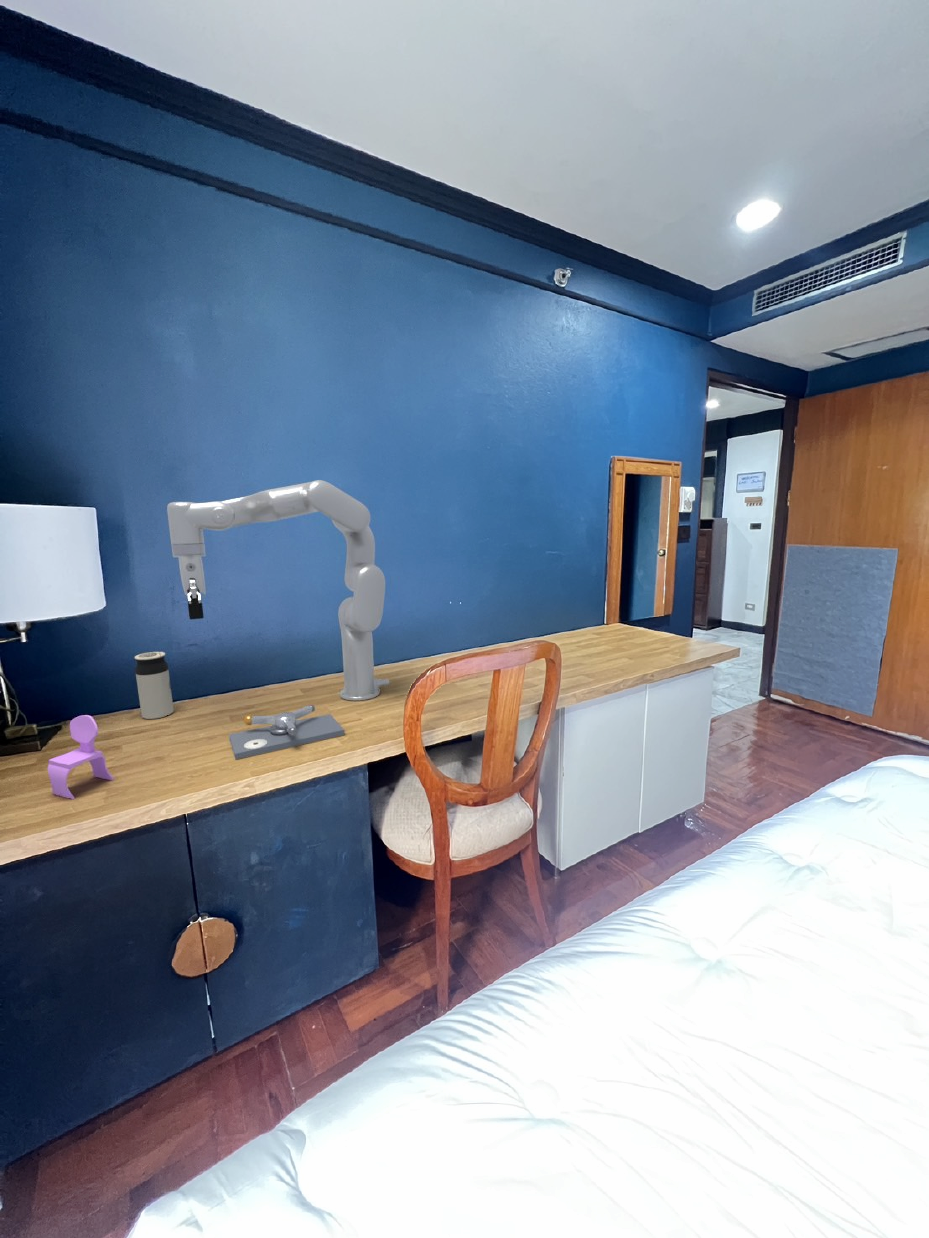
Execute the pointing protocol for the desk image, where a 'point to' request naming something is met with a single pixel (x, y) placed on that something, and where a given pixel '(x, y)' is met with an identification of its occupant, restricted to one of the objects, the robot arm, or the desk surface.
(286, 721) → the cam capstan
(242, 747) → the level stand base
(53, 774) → the toy chair
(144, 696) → the travel mug
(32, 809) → the desk surface
